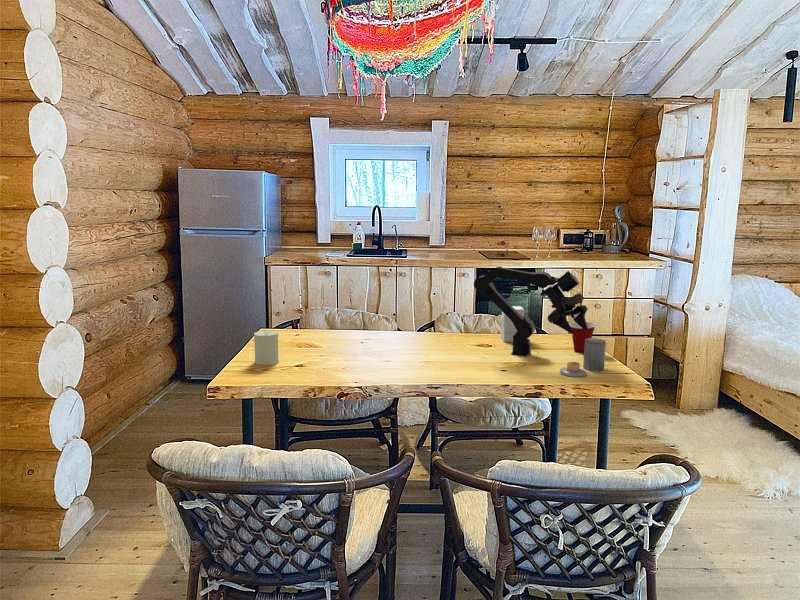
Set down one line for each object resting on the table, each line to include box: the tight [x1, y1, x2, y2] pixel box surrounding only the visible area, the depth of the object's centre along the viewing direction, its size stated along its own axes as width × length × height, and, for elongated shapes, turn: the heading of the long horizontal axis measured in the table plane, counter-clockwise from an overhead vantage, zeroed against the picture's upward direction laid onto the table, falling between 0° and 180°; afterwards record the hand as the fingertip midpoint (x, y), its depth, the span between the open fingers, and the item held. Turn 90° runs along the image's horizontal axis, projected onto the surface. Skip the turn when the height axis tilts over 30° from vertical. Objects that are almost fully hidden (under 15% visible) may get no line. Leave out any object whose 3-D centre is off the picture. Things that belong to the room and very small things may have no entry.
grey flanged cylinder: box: [582, 337, 607, 372], centre depth 242 cm, size 7×7×11 cm
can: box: [253, 330, 280, 366], centre depth 244 cm, size 9×9×12 cm
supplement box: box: [500, 305, 525, 343], centre depth 287 cm, size 9×9×15 cm
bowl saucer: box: [559, 361, 587, 378], centre depth 236 cm, size 10×10×4 cm
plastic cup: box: [569, 321, 597, 354], centre depth 268 cm, size 11×11×12 cm
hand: (579, 331), depth 247 cm, fingers open, 9 cm apart
